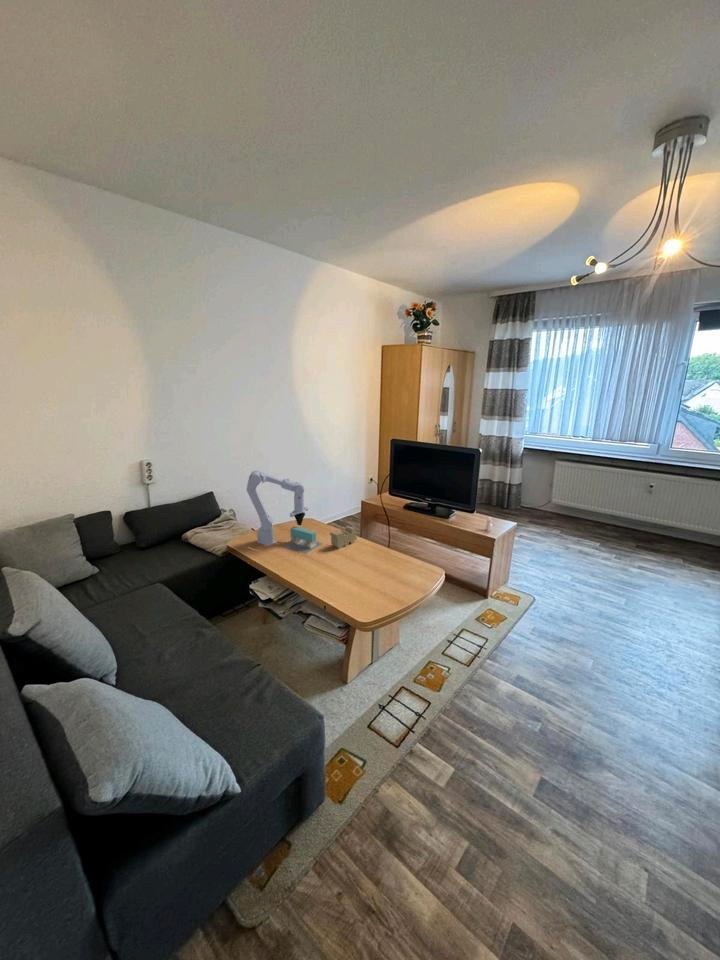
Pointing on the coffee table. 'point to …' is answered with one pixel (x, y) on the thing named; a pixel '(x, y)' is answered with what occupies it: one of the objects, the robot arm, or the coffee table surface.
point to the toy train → (343, 537)
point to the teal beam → (303, 534)
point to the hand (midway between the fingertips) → (299, 524)
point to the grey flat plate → (300, 547)
